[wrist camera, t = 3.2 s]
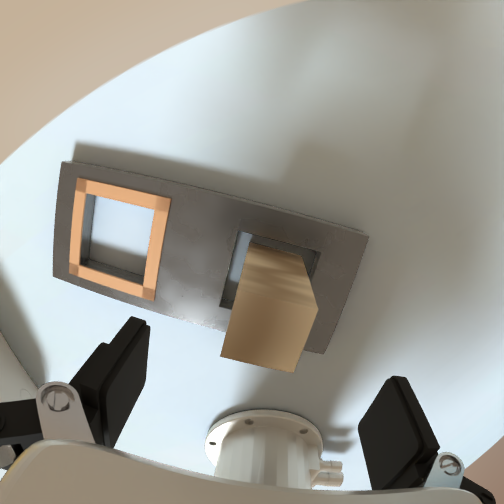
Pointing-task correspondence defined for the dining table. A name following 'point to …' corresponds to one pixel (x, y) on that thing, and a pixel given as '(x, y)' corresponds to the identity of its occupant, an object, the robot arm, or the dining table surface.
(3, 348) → the grey slotted arched block
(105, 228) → the dining table surface
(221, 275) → the grey flat holed plate
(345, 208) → the dining table surface
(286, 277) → the plug
